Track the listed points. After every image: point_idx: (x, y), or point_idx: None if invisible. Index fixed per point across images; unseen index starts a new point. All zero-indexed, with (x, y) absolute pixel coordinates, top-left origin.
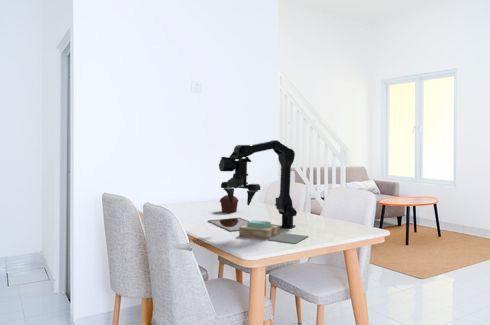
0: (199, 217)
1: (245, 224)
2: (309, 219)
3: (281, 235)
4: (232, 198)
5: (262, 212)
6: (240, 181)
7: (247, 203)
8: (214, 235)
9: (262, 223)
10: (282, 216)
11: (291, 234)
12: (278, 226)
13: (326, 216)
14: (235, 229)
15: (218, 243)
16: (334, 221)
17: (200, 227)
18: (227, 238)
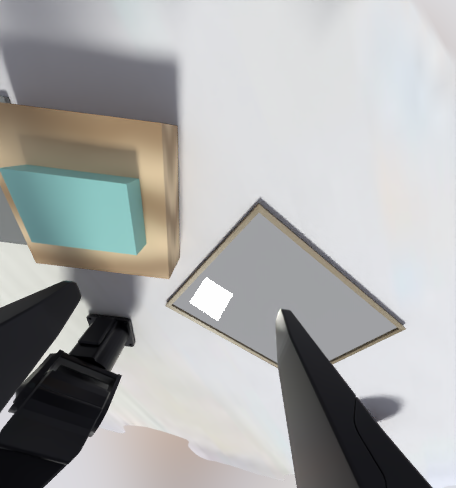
0: (443, 362)
1: (245, 317)
2: (122, 398)
3: None
4: (286, 381)
5: (260, 426)
6: None
7: (54, 292)
8: (313, 76)
9: (24, 181)
10: (94, 353)
11: (11, 235)
12: (32, 247)
13: (110, 420)
14: (248, 237)
15: None
16: None
17: (427, 230)
18: (208, 26)
